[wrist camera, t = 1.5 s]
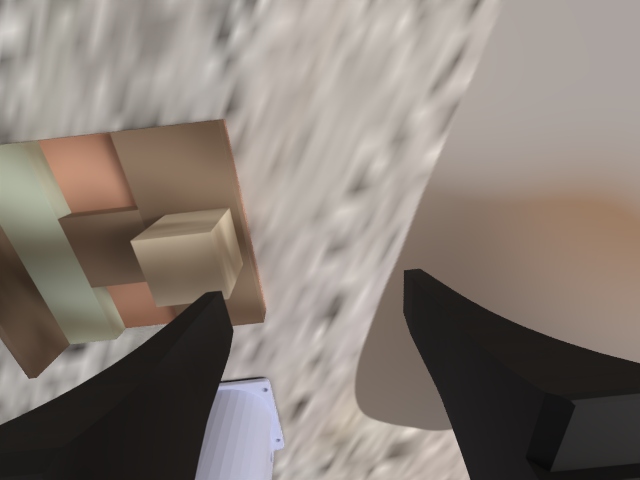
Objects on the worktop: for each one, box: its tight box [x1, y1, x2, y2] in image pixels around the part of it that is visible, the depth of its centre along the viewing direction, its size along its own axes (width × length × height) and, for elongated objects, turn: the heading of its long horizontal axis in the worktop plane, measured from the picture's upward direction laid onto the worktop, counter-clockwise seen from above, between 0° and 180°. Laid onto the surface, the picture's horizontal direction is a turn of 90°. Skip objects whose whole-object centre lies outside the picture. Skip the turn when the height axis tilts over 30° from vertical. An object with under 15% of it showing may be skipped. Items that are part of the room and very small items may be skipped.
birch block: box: [130, 208, 243, 307], centre depth 17 cm, size 4×4×4 cm
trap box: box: [0, 119, 266, 379], centre depth 18 cm, size 14×15×4 cm
